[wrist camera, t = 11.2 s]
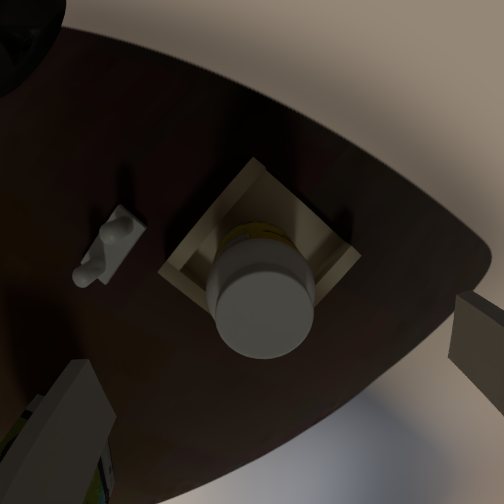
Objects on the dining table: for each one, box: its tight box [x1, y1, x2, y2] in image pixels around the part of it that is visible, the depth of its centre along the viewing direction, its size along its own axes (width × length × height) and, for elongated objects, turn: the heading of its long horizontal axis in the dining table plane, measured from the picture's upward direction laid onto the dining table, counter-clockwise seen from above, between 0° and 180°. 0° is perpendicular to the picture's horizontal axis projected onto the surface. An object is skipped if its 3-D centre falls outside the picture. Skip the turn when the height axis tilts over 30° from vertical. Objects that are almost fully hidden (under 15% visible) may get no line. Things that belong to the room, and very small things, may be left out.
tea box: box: [0, 394, 114, 504], centre depth 24 cm, size 15×10×15 cm
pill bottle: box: [206, 220, 315, 359], centre depth 20 cm, size 6×6×11 cm
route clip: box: [72, 204, 147, 288], centre depth 23 cm, size 3×6×4 cm, turn 139°
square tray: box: [158, 157, 361, 314], centre depth 25 cm, size 11×11×3 cm
